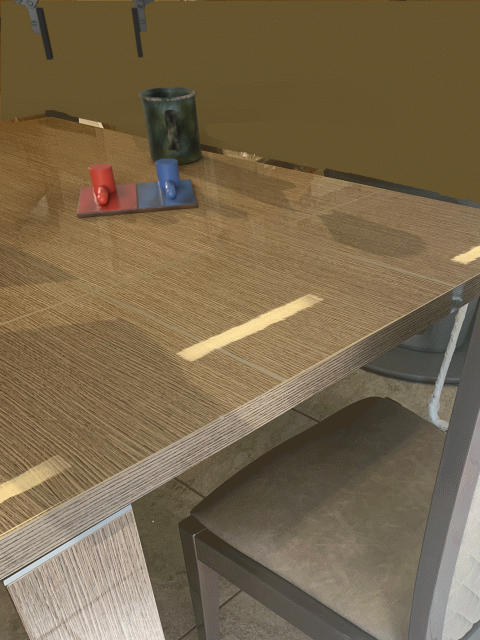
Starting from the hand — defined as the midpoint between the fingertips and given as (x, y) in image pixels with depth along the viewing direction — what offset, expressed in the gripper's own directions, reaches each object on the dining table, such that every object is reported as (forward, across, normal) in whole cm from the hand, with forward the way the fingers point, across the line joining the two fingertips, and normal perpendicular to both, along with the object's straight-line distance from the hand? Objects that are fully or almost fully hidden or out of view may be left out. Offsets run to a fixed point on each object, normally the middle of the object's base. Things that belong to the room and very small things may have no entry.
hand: (96, 57), depth 100 cm
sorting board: (+20, +3, -6) cm, 21 cm away
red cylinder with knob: (+20, -2, -5) cm, 21 cm away
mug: (+20, +11, +16) cm, 28 cm away
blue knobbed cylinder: (+20, +9, -5) cm, 22 cm away
